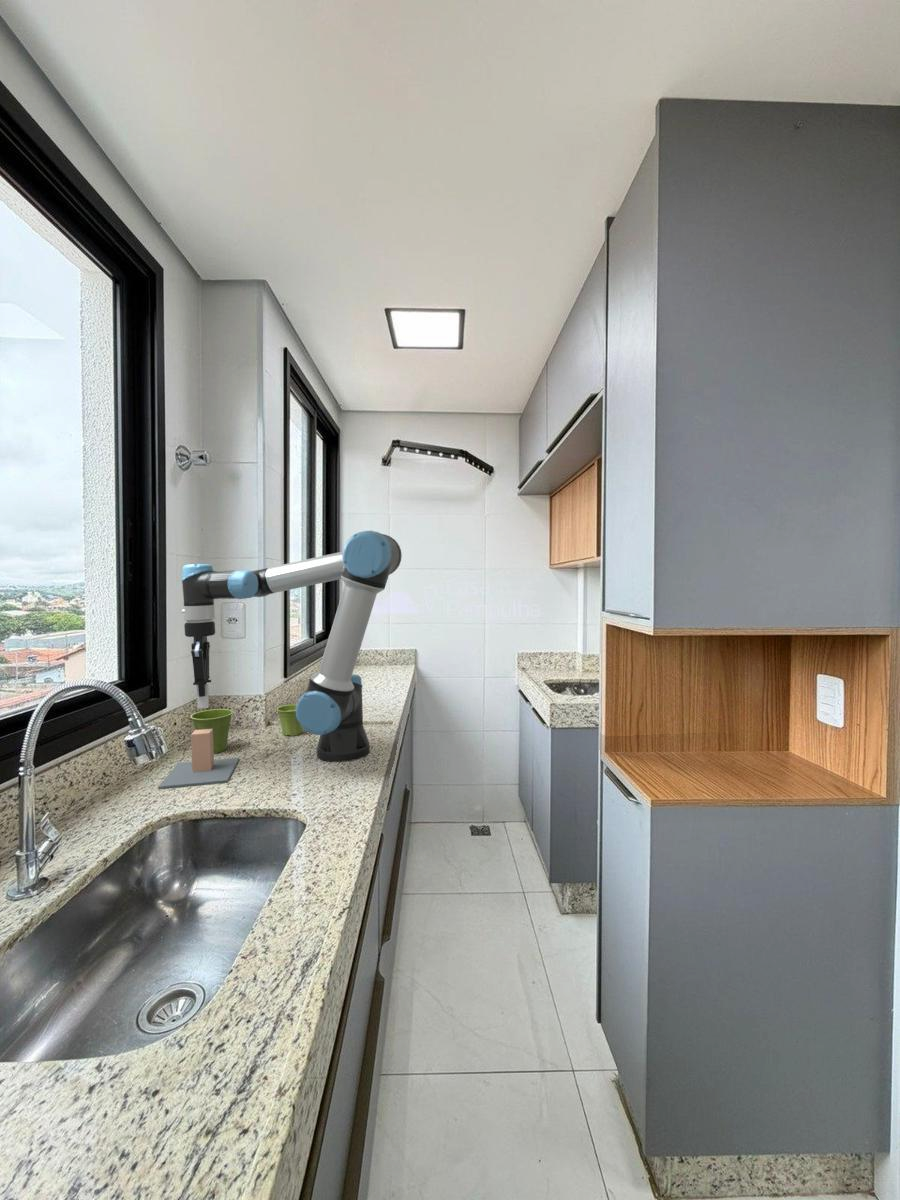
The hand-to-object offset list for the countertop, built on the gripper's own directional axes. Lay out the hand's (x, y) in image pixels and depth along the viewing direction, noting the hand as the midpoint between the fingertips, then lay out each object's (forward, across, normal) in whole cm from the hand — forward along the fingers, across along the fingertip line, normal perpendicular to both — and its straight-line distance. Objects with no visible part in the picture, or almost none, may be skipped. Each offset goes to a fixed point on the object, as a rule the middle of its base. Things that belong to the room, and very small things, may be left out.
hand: (203, 707), depth 149 cm
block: (+16, +3, 0) cm, 16 cm away
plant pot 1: (+17, -15, 0) cm, 22 cm away
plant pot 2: (+17, -26, +22) cm, 38 cm away
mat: (+16, +5, 0) cm, 17 cm away
